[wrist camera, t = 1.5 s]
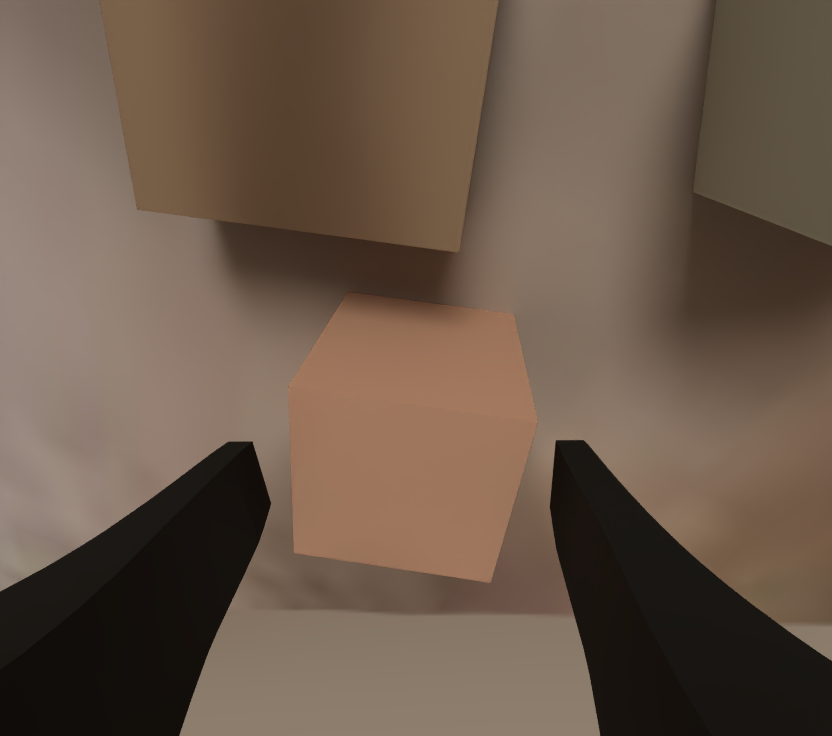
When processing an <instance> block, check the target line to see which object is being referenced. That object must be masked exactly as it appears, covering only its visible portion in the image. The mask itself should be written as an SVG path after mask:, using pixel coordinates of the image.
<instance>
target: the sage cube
mask: <svg viewBox="0 0 832 736" xmlns="http://www.w3.org/2000/svg"><path fill="white" fill-rule="evenodd" d="M693 192H694V193H696V194H699V195H701V196H704V197H707V198H709V199H712V200H714V201H717V202H719V203H722V204H725V205H727V206H730V207H732V208H735V209H738V210H740V211H743V212H745V213H748V214H750V215H753V216H756V217H758V218H761V219H763V220H766V221H768V222H771V223H774V224H776V225H779V226H781V227H784V228H786V229H789V230H792V231H794V232H797V233H799V234H802V235H804V236H807V237H810V238H812V239H815V240H817V241H820V242H823V243H825V244H828V245H830V246H832V0H716V7H715V15H714V23H713V31H712V40H711V48H710V56H709V64H708V72H707V80H706V88H705V96H704V104H703V113H702V121H701V129H700V137H699V145H698V153H697V161H696V169H695V177H694V185H693Z"/></svg>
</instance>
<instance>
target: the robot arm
mask: <svg viewBox="0 0 832 736" xmlns="http://www.w3.org/2000/svg"><path fill="white" fill-rule="evenodd" d="M270 506H271V501H270V498H269V495H268V492H267V488H266V485H265V482H264V478H263V475H262V472H261V468H260V465H259V462H258V458H257V455H256V452H255V449H254V445H253V442H228V443H226V444H225V445H223V446H221V447H220V448H219V449H217V450H216V451H214V452H213V453H212V454H210V455H209V456H208V457H206V458H205V459H203V460H202V461H201V462H200V463H198V464H197V465H196V466H194V467H193V468H192V469H190V470H189V471H188V472H186V473H185V474H184V475H182V476H181V477H180V478H178V479H177V480H176V481H174V482H173V483H172V484H170V485H169V486H168V487H166V488H165V489H164V490H162V491H161V492H160V493H158V494H157V495H156V496H154V497H153V498H151V499H150V500H149V501H147V502H146V503H144V504H143V505H141V506H140V507H139V508H137V509H136V510H134V511H133V512H131V513H130V514H129V515H127V516H126V517H124V518H123V519H121V520H120V521H119V522H117V523H116V524H114V525H113V526H111V527H110V528H108V529H107V530H105V531H104V532H102V533H101V534H99V535H98V536H96V537H95V538H93V539H92V540H90V541H88V542H87V543H85V544H84V545H82V546H80V547H79V548H77V549H75V550H74V551H72V552H70V553H69V554H67V555H65V556H64V557H62V558H60V559H59V560H57V561H56V562H54V563H52V564H50V565H49V566H47V567H45V568H43V569H42V570H40V571H38V572H36V573H34V574H32V575H30V576H29V577H27V578H25V579H23V580H21V581H19V582H17V583H15V584H14V585H12V586H10V587H8V588H6V589H4V590H2V591H1V592H0V736H179V734H180V731H181V728H182V726H183V723H184V719H185V717H186V713H187V711H188V708H189V705H190V702H191V699H192V696H193V693H194V690H195V687H196V685H197V682H198V679H199V677H200V674H201V671H202V668H203V665H204V663H205V660H206V657H207V655H208V652H209V649H210V647H211V644H212V643H213V640H214V638H215V636H216V633H217V631H218V629H219V627H220V625H221V622H222V620H223V618H224V616H225V614H226V612H227V610H228V608H229V606H230V603H231V601H232V599H233V597H234V595H235V593H236V591H237V589H238V587H239V584H240V582H241V580H242V578H243V576H244V574H245V572H246V569H247V567H248V565H249V563H250V561H251V559H252V556H253V554H254V552H255V550H256V548H257V545H258V543H259V540H260V537H261V535H262V532H263V529H264V526H265V522H266V519H267V516H268V512H269V509H270ZM550 511H551V517H552V524H553V531H554V537H555V543H556V549H557V553H558V557H559V561H560V564H561V568H562V572H563V575H564V579H565V583H566V586H567V590H568V594H569V597H570V601H571V605H572V608H573V612H574V616H575V619H576V623H577V626H578V630H579V633H580V637H581V641H582V644H583V648H584V652H585V657H586V661H587V665H588V670H589V674H590V680H591V685H592V691H593V696H594V702H595V707H596V713H597V719H598V724H599V730H600V736H832V661H831V660H829V659H828V658H826V657H825V656H823V655H822V654H820V653H819V652H817V651H816V650H814V649H813V648H811V647H810V646H809V645H807V644H806V643H804V642H803V641H801V640H800V639H798V638H797V637H796V636H794V635H793V634H791V633H790V632H789V631H787V630H786V629H785V628H783V627H782V626H781V625H779V624H778V623H777V622H775V621H774V620H772V619H771V618H770V617H768V616H767V615H766V614H764V613H763V612H762V611H760V610H759V609H758V608H756V607H755V606H753V605H752V604H751V603H749V602H748V601H747V600H746V599H744V598H743V597H742V596H740V595H739V594H738V593H737V592H735V591H734V590H733V589H732V588H730V587H729V586H728V585H727V584H725V583H724V582H723V581H722V580H721V579H719V578H718V577H717V576H716V575H715V574H713V573H712V572H711V571H710V570H709V569H708V568H706V567H705V566H704V565H703V564H702V563H700V562H699V561H698V560H697V559H696V558H695V557H694V556H692V555H691V554H690V553H689V552H688V551H687V550H686V549H685V548H684V547H683V546H682V545H680V544H679V543H678V542H677V541H676V540H675V539H674V538H673V537H672V536H671V535H670V534H669V533H668V532H667V531H666V530H665V529H664V528H663V527H662V526H661V525H660V524H659V523H658V522H657V521H656V520H655V519H654V518H653V517H652V516H651V515H650V514H649V513H648V512H647V511H646V510H645V509H644V508H643V507H642V506H641V505H640V503H639V502H638V501H637V500H636V499H635V498H634V497H633V496H632V495H631V494H630V493H629V492H628V491H627V490H626V488H625V487H624V486H623V485H622V484H621V483H620V482H619V481H618V479H617V478H616V477H615V476H614V475H613V474H612V472H611V471H610V470H609V469H608V468H607V467H606V465H605V464H604V463H603V462H602V461H601V460H600V458H599V457H598V456H597V455H596V453H595V452H594V451H593V450H592V449H591V447H590V446H589V445H588V444H587V443H586V442H585V441H584V440H556V445H555V456H554V467H553V478H552V489H551V501H550Z"/></svg>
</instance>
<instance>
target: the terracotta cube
mask: <svg viewBox="0 0 832 736" xmlns="http://www.w3.org/2000/svg"><path fill="white" fill-rule="evenodd" d="M289 416H290V447H291V478H292V509H293V540H294V553H297V554H304V555H311V556H317V557H324V558H330V559H337V560H344V561H350V562H357V563H363V564H370V565H376V566H383V567H390V568H396V569H403V570H409V571H416V572H422V573H429V574H436V575H442V576H449V577H455V578H462V579H468V580H475V581H482V582H488V583H491V579H492V576H493V573H494V569H495V566H496V563H497V559H498V556H499V552H500V549H501V546H502V542H503V539H504V536H505V532H506V529H507V526H508V522H509V519H510V515H511V512H512V509H513V505H514V502H515V499H516V495H517V492H518V488H519V485H520V482H521V478H522V475H523V472H524V468H525V465H526V462H527V458H528V455H529V451H530V448H531V445H532V441H533V438H534V435H535V431H536V428H537V424H538V420H537V415H536V411H535V407H534V402H533V398H532V393H531V389H530V385H529V380H528V376H527V371H526V367H525V363H524V358H523V354H522V349H521V345H520V341H519V336H518V332H517V328H516V323H515V319H514V314H507V313H500V312H493V311H485V310H478V309H471V308H463V307H456V306H449V305H442V304H434V303H427V302H420V301H412V300H405V299H398V298H390V297H383V296H376V295H369V294H361V293H354V292H347V294H346V295H345V297H344V299H343V300H342V302H341V303H340V305H339V307H338V308H337V310H336V311H335V313H334V315H333V316H332V318H331V319H330V321H329V323H328V324H327V326H326V327H325V329H324V331H323V332H322V334H321V335H320V337H319V339H318V340H317V342H316V344H315V345H314V347H313V348H312V350H311V352H310V353H309V355H308V356H307V358H306V360H305V361H304V363H303V364H302V366H301V368H300V369H299V371H298V372H297V374H296V376H295V377H294V379H293V380H292V382H291V384H290V385H289Z"/></svg>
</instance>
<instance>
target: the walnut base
mask: <svg viewBox="0 0 832 736" xmlns="http://www.w3.org/2000/svg"><path fill="white" fill-rule="evenodd" d="M99 1H100V6H101V12H102V17H103V23H104V28H105V34H106V39H107V45H108V50H109V56H110V62H111V67H112V73H113V78H114V84H115V89H116V95H117V100H118V106H119V111H120V117H121V122H122V128H123V134H124V139H125V145H126V150H127V156H128V161H129V167H130V172H131V178H132V183H133V189H134V194H135V200H136V206H137V210H144V211H152V212H159V213H167V214H174V215H182V216H189V217H197V218H204V219H212V220H219V221H227V222H234V223H242V224H249V225H257V226H264V227H271V228H279V229H286V230H294V231H301V232H309V233H316V234H324V235H331V236H339V237H346V238H354V239H361V240H369V241H376V242H384V243H391V244H399V245H406V246H414V247H421V248H428V249H436V250H443V251H451V252H458V253H459V249H460V243H461V237H462V230H463V224H464V218H465V211H466V205H467V199H468V192H469V186H470V180H471V173H472V167H473V161H474V154H475V148H476V141H477V135H478V129H479V122H480V116H481V110H482V103H483V97H484V91H485V84H486V78H487V72H488V65H489V59H490V53H491V46H492V40H493V34H494V27H495V21H496V14H497V8H498V2H499V0H99Z"/></svg>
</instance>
